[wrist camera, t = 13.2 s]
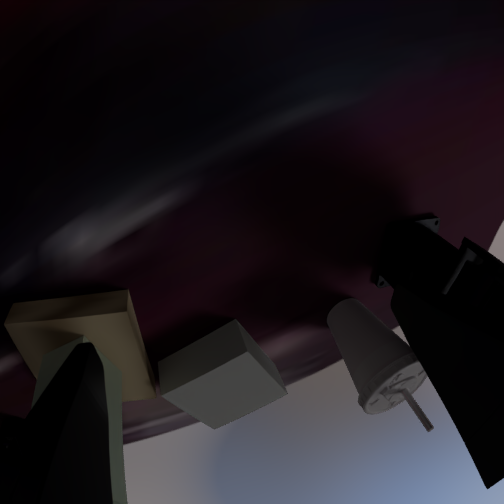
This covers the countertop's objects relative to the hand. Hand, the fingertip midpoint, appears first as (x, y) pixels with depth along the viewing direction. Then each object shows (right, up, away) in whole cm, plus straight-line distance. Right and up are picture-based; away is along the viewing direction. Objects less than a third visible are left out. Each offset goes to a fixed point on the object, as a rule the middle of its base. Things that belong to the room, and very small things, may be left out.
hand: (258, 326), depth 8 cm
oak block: (-14, -5, +15) cm, 21 cm away
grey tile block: (-3, -8, +20) cm, 22 cm away
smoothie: (+8, -4, +21) cm, 23 cm away
